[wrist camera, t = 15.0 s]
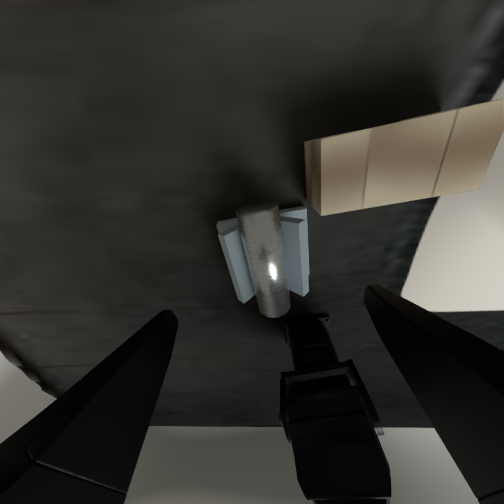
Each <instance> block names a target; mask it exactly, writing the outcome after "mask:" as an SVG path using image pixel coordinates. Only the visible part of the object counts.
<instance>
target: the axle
mask: <svg viewBox="0 0 504 504" xmlns="http://www.w3.org/2000/svg"><path fill="white" fill-rule="evenodd" d="M236 217H237V221H238V225H239V229H240V233H241V237H242V241H243V245H244V249H245V253H246V257H247V261H248V266H249V270H250V274H251V278H252V282H253V286H254V290H255V294H256V298H257V302H258V306H259V310H260V312H261V313H262V314H263V315H265V316H267V317H271V318H277V317H281V316H283V315H285V314H286V313H287V312H288V311H289V309H290V296H289V287H288V279H287V271H286V263H285V254H284V246H283V238H282V229H281V221H280V213H279V204H278V203H277V202H272V201H264V202H257V203H252V204H249V205H246V206H243V207H241V208H239V209H238V210H237V211H236Z"/></svg>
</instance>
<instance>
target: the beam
mask: <svg viewBox="0 0 504 504" xmlns="http://www.w3.org/2000/svg"><path fill="white" fill-rule="evenodd" d="M503 130H504V99H500V100H495V101H490V102H485V103H480V104H475V105H470V106H465V107H460V108H455V109H450V110H445V111H441V112H436V113H432V114H427V115H422V116H418V117H413V118H409V119H404V120H400V122H396V123H391V124H387V125H382V126H378V127H373V128H369V129H364V130H358V131H352V132H347V133H341V134H337V135H332V136H328V137H323V138H319V139H314V140H310V141H305V142H304V149H305V173H306V197H307V201H308V202H309V203H310V204H311V205H312V207H313V208H314V209H315V210H316V211H317V212H318V213H319V214H320V215H321V216H324V215H330V214H335V213H341V212H347V211H353V210H359V209H365V208H371V207H377V206H382V205H388V204H394V203H400V202H406V201H412V200H418V199H424V198H430V197H435V196H441V195H447V194H453V193H459V192H465V191H471V190H477V189H479V187H480V185H481V183H482V180H483V178H484V175H485V173H486V171H487V168H488V166H489V163H490V161H491V159H492V156H493V154H494V152H495V149H496V147H497V144H498V142H499V140H500V137H501V135H502V133H503Z"/></svg>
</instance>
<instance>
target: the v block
mask: <svg viewBox="0 0 504 504" xmlns="http://www.w3.org/2000/svg"><path fill="white" fill-rule="evenodd" d="M279 213H280V221H281V229H282V238H283V246H284V254H285V263H286V271H287V279H288V287H289V290H291V291H293V292H295V293H297V294H299V295H301V296H303V297H304V296H305V295H306V294H307V292H308V291H309V283H308V275H309V253H308V229H307V208H306V207H305V206H300V207H294V208H289V209H283V210H279ZM216 226H217V229H218V232H219V234H218V237H219V240H220V243H221V246H222V250H223V253H224V256H225V259H226V262H227V265H228V269H229V272H230V275H231V278H232V281H233V284H234V288H235V291H236V294H237V297H238V300H240V301H241V302H242V303H246V302H247V301H248V300H249V299H250V298H252V297H253V296H254V295H255V290H254V286H253V282H252V278H251V274H250V270H249V266H248V261H247V257H246V253H245V249H244V245H243V241H242V237H241V233H240V229H239V225H238V221H237V218H233V219H227V220H221V221H218V222H217V224H216Z"/></svg>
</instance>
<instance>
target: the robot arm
mask: <svg viewBox="0 0 504 504" xmlns="http://www.w3.org/2000/svg"><path fill="white" fill-rule="evenodd" d="M364 304H365V306H366V308H367V310H368V313H369V315H370V317H371V319H372V321H373V323H374V325H375V328H376V330H377V332H378V334H379V336H380V338H381V340H382V342H383V343H384V345H385V347H386V348H387V350H388V352H389V353H390V355H391V357H392V358H393V360H394V362H395V363H396V365H397V367H398V368H399V370H400V372H401V373H402V375H403V377H404V378H405V380H406V382H407V383H408V385H409V387H410V388H411V390H412V392H413V393H414V395H415V397H416V398H417V400H418V402H419V403H420V405H421V407H422V408H423V410H424V412H425V413H426V415H427V417H428V418H429V420H430V422H431V423H432V425H433V427H434V428H435V430H436V432H437V433H438V435H439V436H440V438H441V440H442V442H443V443H444V445H445V447H446V448H447V450H448V451H449V453H450V455H451V457H452V458H453V460H454V461H455V463H456V465H457V466H458V468H459V470H460V471H461V473H462V474H463V476H464V478H465V480H466V481H467V483H468V485H469V486H470V488H471V490H472V491H473V493H474V495H475V496H476V498H477V499H478V502H479V503H480V504H504V350H502V349H499V348H498V347H496V346H494V345H493V344H491V343H489V342H487V341H485V340H483V339H481V338H479V337H477V336H475V335H473V334H471V333H470V332H468V331H466V330H464V329H462V328H460V327H458V326H456V325H454V324H452V323H450V322H449V321H447V320H445V319H443V318H441V317H439V316H437V315H435V314H433V313H431V312H429V311H427V310H426V309H424V308H421V307H420V306H418V305H416V304H414V303H412V302H410V301H408V300H406V299H404V298H403V297H401V296H399V295H397V294H395V293H393V292H391V291H389V290H387V289H385V288H383V287H382V286H380V285H376V284H375V285H368V286H366V288H365V294H364ZM284 324H285V331H286V337H287V344H288V347H289V348H291V351H292V358H293V364H294V370H295V371H289V372H285V371H284V372H281V379H280V414H279V420H280V423H281V424H282V425H283V427H284V431H285V434H286V437H287V440H288V441H289V443H292V447H293V453H294V458H295V465H296V471H297V479H298V482H299V485H300V487H301V489H302V491H303V493H304V495H305V497H306V499H307V500H313V501H314V503H315V504H390V498H391V477H390V468H389V464H388V462H387V460H386V457H385V454H384V452H383V449H382V447H381V444H380V441H379V439H378V436H377V435H384V431H383V428H382V425H381V422H380V420H379V417H378V415H377V412H376V410H375V407H374V405H373V403H372V401H371V398H370V396H369V394H368V392H367V390H366V388H365V386H364V384H363V382H362V380H361V378H360V376H359V373H358V371H357V369H356V367H355V365H354V363H353V361H352V359H350V360H347V361H344V362H339V360H338V357H337V354H336V352H335V349H334V347H333V344H332V341H331V339H330V324H331V319H330V316H328V315H323V316H313V317H303V318H294V319H286V320H285V321H284ZM177 328H178V320H177V318H176V316H175V314H174V313H173V311H172V310H170V309H169V310H162V311H161V312H160V313H158V314H157V315H156V316H155V317H154V318H153V319H151V320H150V321H149V322H148V323H147V324H145V325H144V326H143V327H142V328H141V329H140V330H138V331H137V332H136V333H135V334H134V335H132V336H131V337H130V338H129V339H128V340H126V341H125V342H124V343H123V344H122V345H121V346H119V347H118V348H117V349H116V350H115V351H113V352H112V353H111V354H110V355H109V356H108V357H106V358H105V359H104V360H103V361H102V362H100V363H99V364H98V365H97V366H96V367H95V368H93V369H92V370H91V371H90V372H89V373H87V374H86V375H85V376H84V377H83V378H82V379H81V380H79V381H78V382H77V383H76V384H74V385H73V386H72V387H71V388H70V389H69V390H67V391H66V392H65V393H64V394H62V395H61V396H60V397H59V398H58V399H56V400H55V401H54V402H53V403H52V404H50V405H49V406H48V407H47V408H45V409H44V410H43V411H42V412H40V413H39V414H38V415H37V416H35V417H34V418H33V419H31V420H30V421H29V422H28V423H27V424H25V425H24V426H23V427H21V428H20V429H19V430H18V431H16V432H15V433H14V434H12V435H11V436H10V437H8V438H7V439H6V440H5V441H3V442H2V443H1V444H0V504H124V502H125V499H126V493H127V492H128V488H129V486H130V483H131V479H132V476H133V473H134V470H135V467H136V464H137V461H138V458H139V455H140V452H141V448H142V445H143V442H144V439H145V436H146V433H147V430H148V427H149V424H150V421H151V418H152V415H153V411H154V408H155V405H156V402H157V399H158V396H159V393H160V390H161V387H162V384H163V381H164V377H165V374H166V371H167V368H168V365H169V362H170V359H171V355H172V351H173V346H174V342H175V337H176V333H177ZM351 385H355V386H351Z"/></svg>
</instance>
